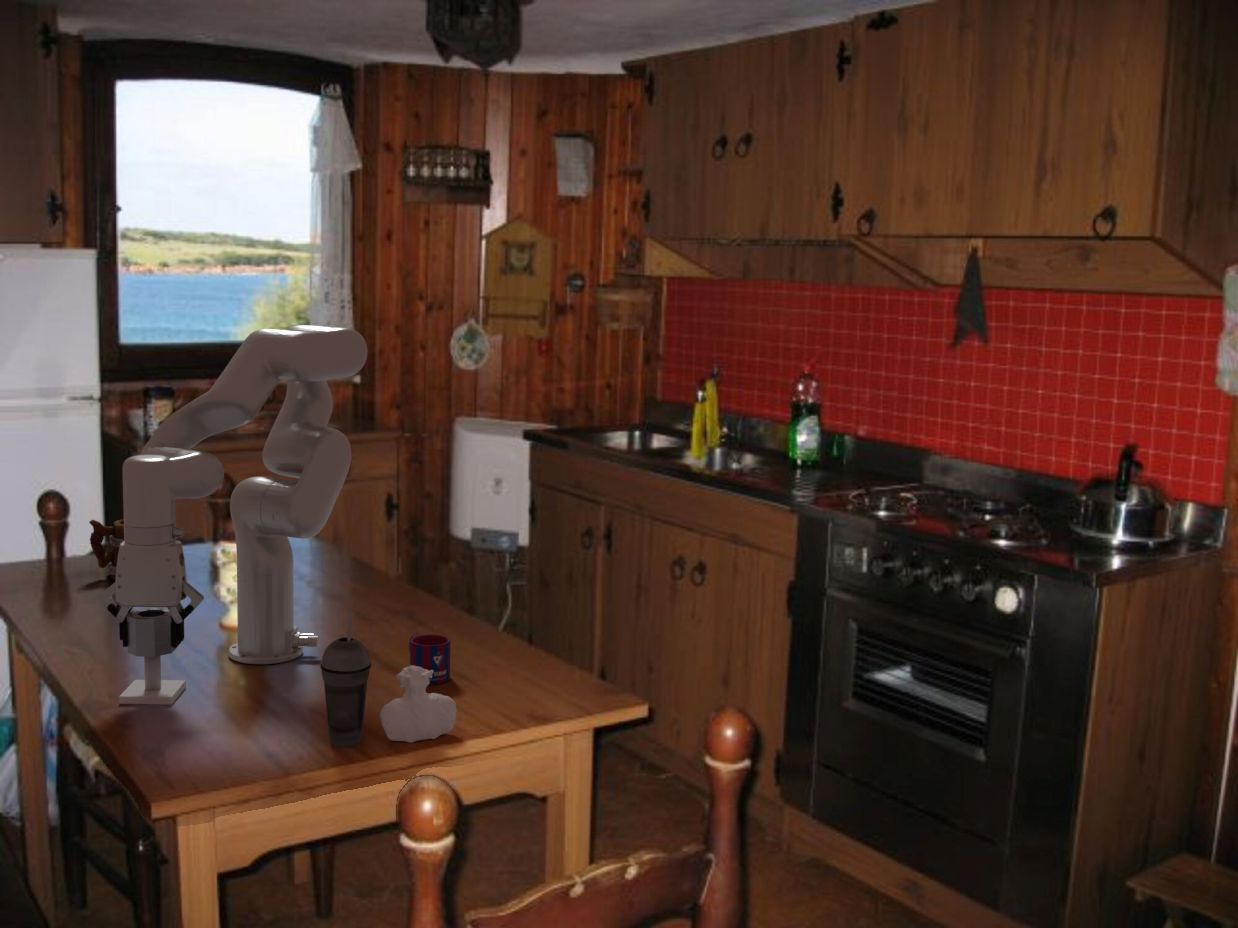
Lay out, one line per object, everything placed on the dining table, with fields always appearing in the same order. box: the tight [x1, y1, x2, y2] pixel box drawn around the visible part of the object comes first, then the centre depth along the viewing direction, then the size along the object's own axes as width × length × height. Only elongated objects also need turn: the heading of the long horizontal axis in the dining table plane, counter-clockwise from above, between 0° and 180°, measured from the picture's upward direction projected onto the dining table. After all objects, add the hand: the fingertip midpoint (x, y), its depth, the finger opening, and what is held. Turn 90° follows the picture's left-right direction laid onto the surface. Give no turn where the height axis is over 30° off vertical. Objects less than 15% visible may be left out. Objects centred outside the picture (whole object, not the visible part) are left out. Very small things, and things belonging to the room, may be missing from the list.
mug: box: [88, 518, 124, 581], centre depth 275 cm, size 12×14×15 cm
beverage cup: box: [319, 609, 372, 748], centre depth 187 cm, size 7×7×20 cm
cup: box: [408, 633, 452, 686], centre depth 218 cm, size 7×10×7 cm
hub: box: [126, 607, 177, 658], centre depth 203 cm, size 7×7×6 cm
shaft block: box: [118, 655, 187, 706], centre depth 204 cm, size 8×8×7 cm
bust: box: [378, 664, 457, 744], centre depth 192 cm, size 12×8×11 cm
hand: (152, 643), depth 203 cm, fingers closed on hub, 6 cm apart
